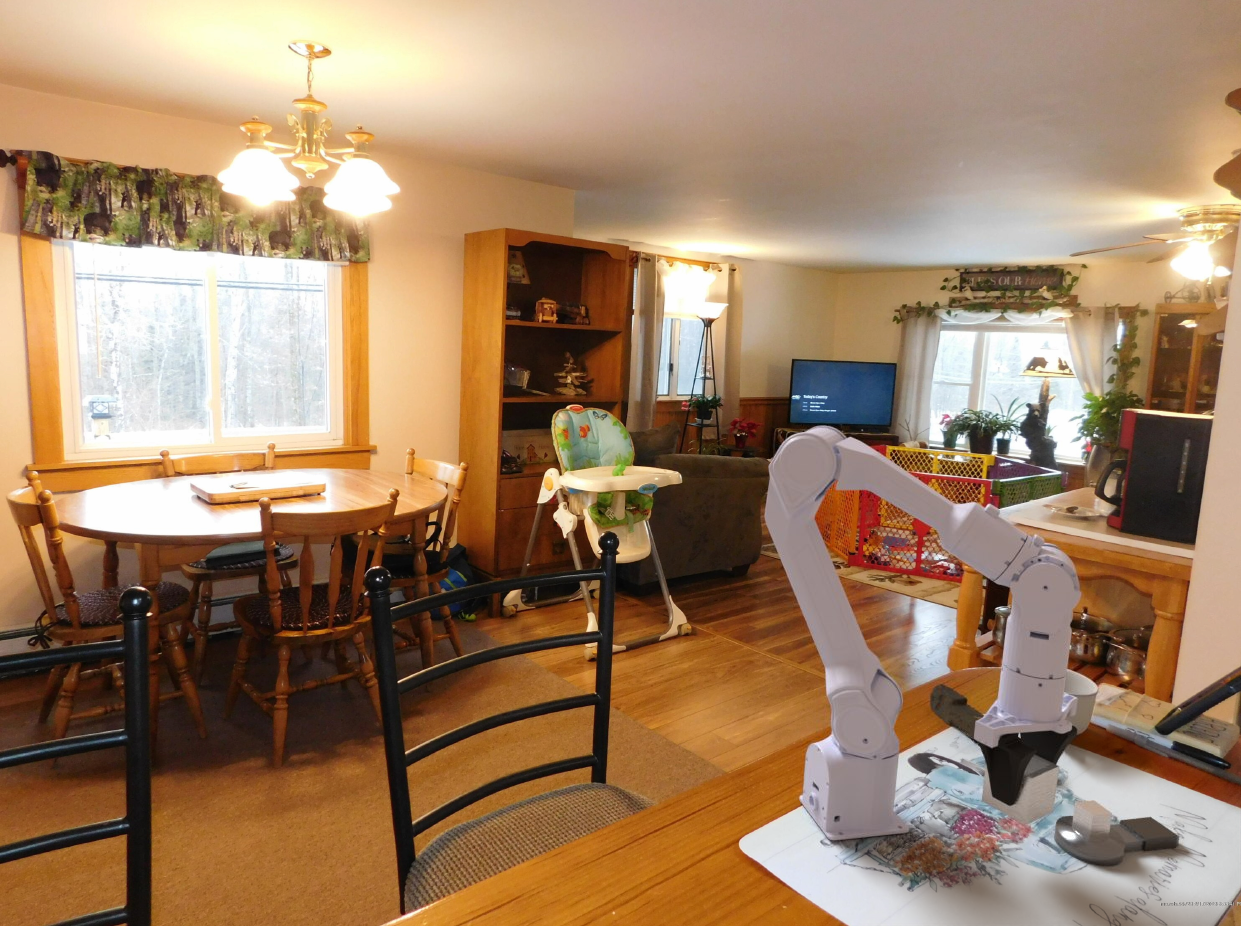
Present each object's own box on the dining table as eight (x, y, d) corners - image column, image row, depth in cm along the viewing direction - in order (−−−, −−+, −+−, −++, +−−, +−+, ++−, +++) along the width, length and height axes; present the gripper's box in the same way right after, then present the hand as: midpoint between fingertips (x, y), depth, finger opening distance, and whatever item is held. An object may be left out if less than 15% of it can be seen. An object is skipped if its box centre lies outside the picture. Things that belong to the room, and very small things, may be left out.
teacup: (1012, 704, 119) (1018, 653, 117) (1095, 726, 112) (1102, 673, 111) (992, 740, 107) (999, 684, 106) (1084, 767, 101) (1092, 708, 100)
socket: (1025, 825, 78) (1031, 778, 77) (981, 800, 82) (986, 755, 81) (1053, 811, 81) (1059, 766, 80) (1009, 788, 85) (1014, 744, 84)
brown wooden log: (1043, 775, 99) (1048, 741, 99) (1016, 778, 98) (1021, 743, 98) (946, 708, 117) (949, 678, 117) (922, 710, 116) (925, 680, 116)
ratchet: (1085, 869, 81) (1091, 828, 80) (1040, 831, 87) (1045, 793, 87) (1192, 856, 84) (1198, 816, 83) (1141, 820, 90) (1146, 783, 89)
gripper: (1029, 698, 72) (1013, 835, 74) (1113, 668, 79) (1096, 793, 82) (961, 669, 78) (947, 797, 80) (1045, 644, 85) (1030, 761, 87)
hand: (1018, 793), depth 81 cm, fingers closed on socket, 5 cm apart
